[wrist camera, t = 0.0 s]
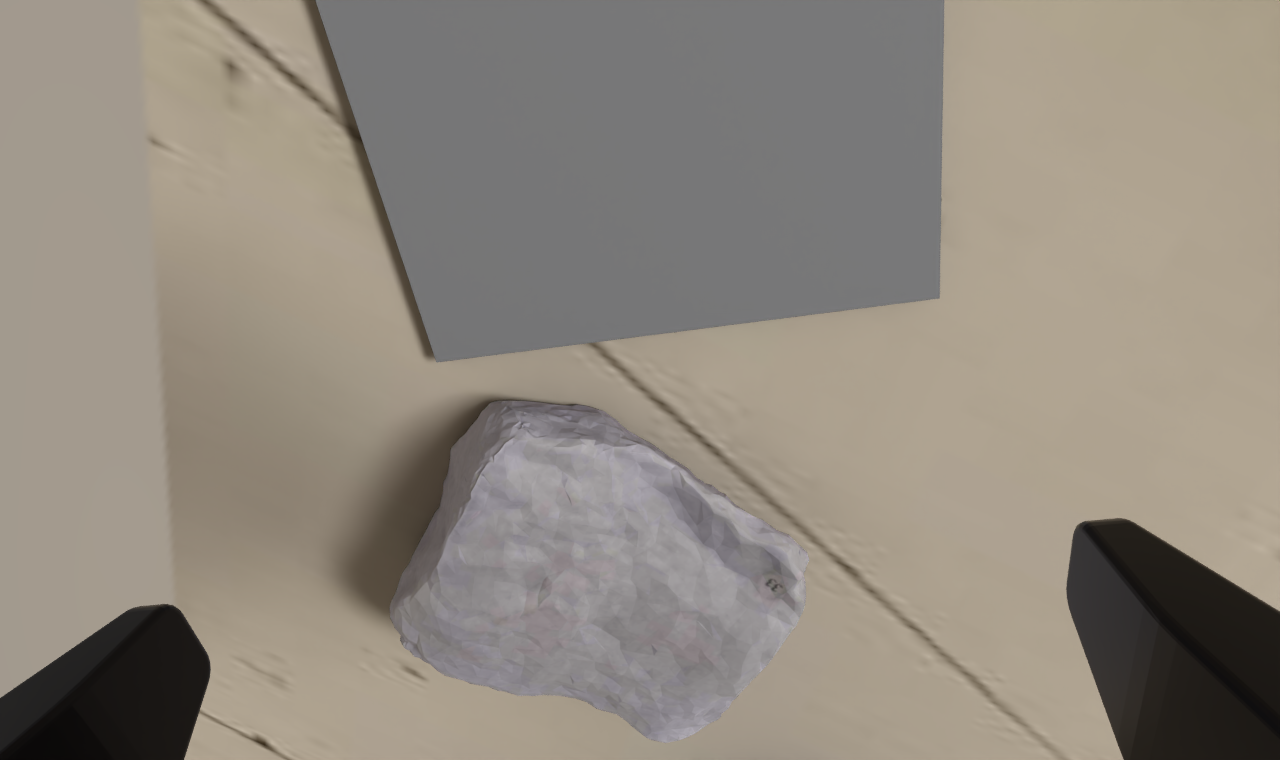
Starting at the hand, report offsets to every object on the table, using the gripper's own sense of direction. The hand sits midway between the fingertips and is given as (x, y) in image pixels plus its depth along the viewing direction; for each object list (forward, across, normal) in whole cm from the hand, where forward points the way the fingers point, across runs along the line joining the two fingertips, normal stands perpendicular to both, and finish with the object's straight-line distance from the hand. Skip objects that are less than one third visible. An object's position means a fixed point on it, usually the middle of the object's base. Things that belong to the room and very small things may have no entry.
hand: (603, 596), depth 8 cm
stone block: (+14, 0, +8) cm, 16 cm away
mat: (+15, 0, 0) cm, 15 cm away
